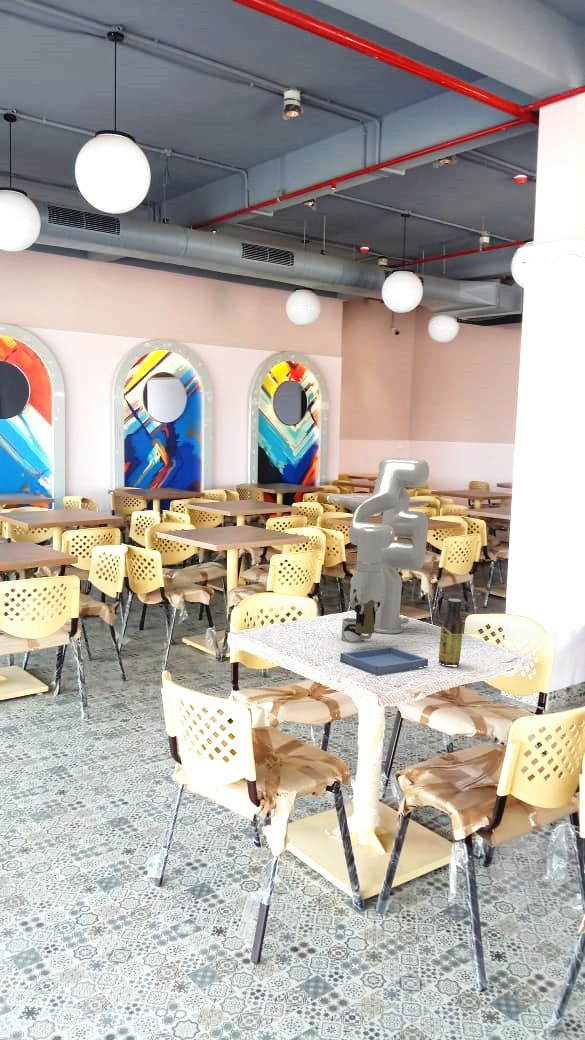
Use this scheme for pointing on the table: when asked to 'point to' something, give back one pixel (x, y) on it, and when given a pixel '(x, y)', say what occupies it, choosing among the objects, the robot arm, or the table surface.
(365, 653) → the tray
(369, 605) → the cork
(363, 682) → the table surface
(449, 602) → the sauce bottle
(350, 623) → the mug
